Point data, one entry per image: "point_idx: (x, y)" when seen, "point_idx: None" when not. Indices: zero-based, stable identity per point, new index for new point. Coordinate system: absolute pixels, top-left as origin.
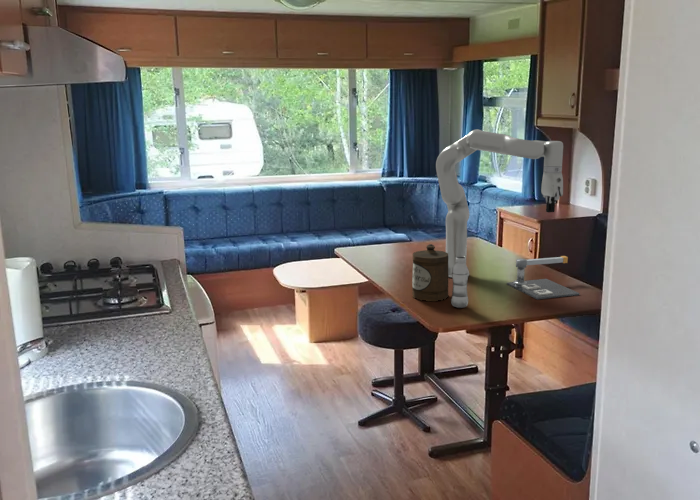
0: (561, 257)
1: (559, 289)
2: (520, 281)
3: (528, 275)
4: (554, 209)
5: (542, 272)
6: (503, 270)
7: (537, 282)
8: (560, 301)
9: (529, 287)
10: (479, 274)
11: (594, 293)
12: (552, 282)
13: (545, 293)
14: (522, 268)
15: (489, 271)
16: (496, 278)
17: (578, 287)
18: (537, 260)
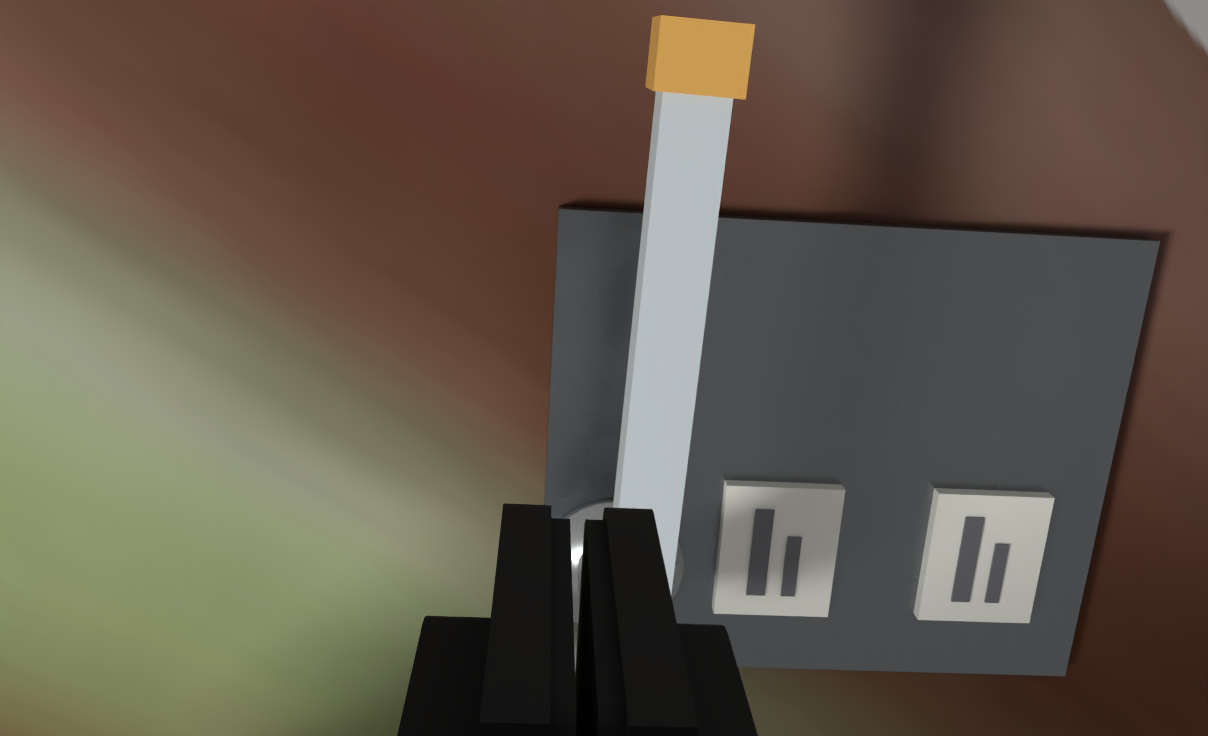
0: (695, 105)
1: (963, 342)
2: None
3: (299, 260)
4: (659, 547)
5: (220, 13)
6: (5, 396)
7: None
8: (1199, 521)
9: (815, 594)
10: (107, 700)
11: (1188, 48)
12: (718, 243)
13: (1038, 571)
14: None
15: (12, 555)
16: (306, 628)
17: (937, 52)
18: (680, 508)
